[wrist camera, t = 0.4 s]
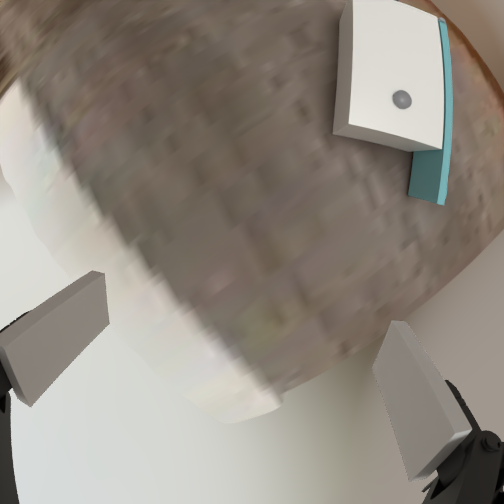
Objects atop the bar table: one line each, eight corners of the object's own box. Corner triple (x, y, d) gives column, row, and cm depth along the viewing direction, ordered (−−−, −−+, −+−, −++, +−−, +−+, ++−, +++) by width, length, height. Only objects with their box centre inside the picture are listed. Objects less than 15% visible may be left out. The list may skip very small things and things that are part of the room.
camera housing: (339, 12, 27) (352, -23, 18) (410, 32, 26) (438, 6, 17) (332, 134, 33) (349, 122, 24) (409, 151, 32) (445, 149, 23)
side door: (415, 37, 26) (438, 16, 18) (425, 41, 26) (450, 21, 18) (408, 195, 33) (437, 203, 25) (418, 198, 33) (449, 206, 25)
